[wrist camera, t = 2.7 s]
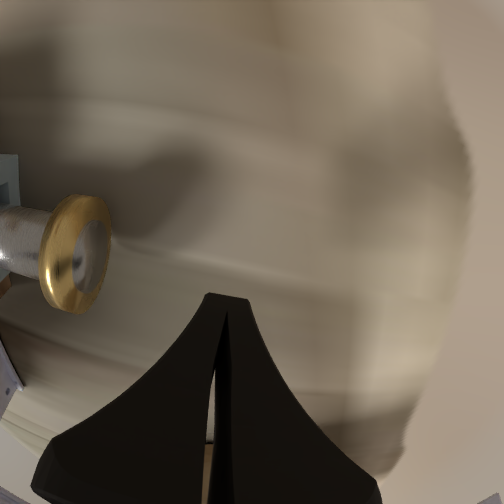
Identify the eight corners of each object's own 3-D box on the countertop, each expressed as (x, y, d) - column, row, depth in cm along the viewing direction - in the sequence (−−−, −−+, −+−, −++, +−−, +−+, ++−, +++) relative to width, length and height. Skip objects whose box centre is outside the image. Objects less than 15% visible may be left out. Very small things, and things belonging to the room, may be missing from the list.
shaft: (116, 274, 14) (76, 339, 10) (-14, 241, 13) (-60, 282, 9) (116, 183, 12) (57, 228, 8) (-23, 167, 11) (-80, 198, 7)
